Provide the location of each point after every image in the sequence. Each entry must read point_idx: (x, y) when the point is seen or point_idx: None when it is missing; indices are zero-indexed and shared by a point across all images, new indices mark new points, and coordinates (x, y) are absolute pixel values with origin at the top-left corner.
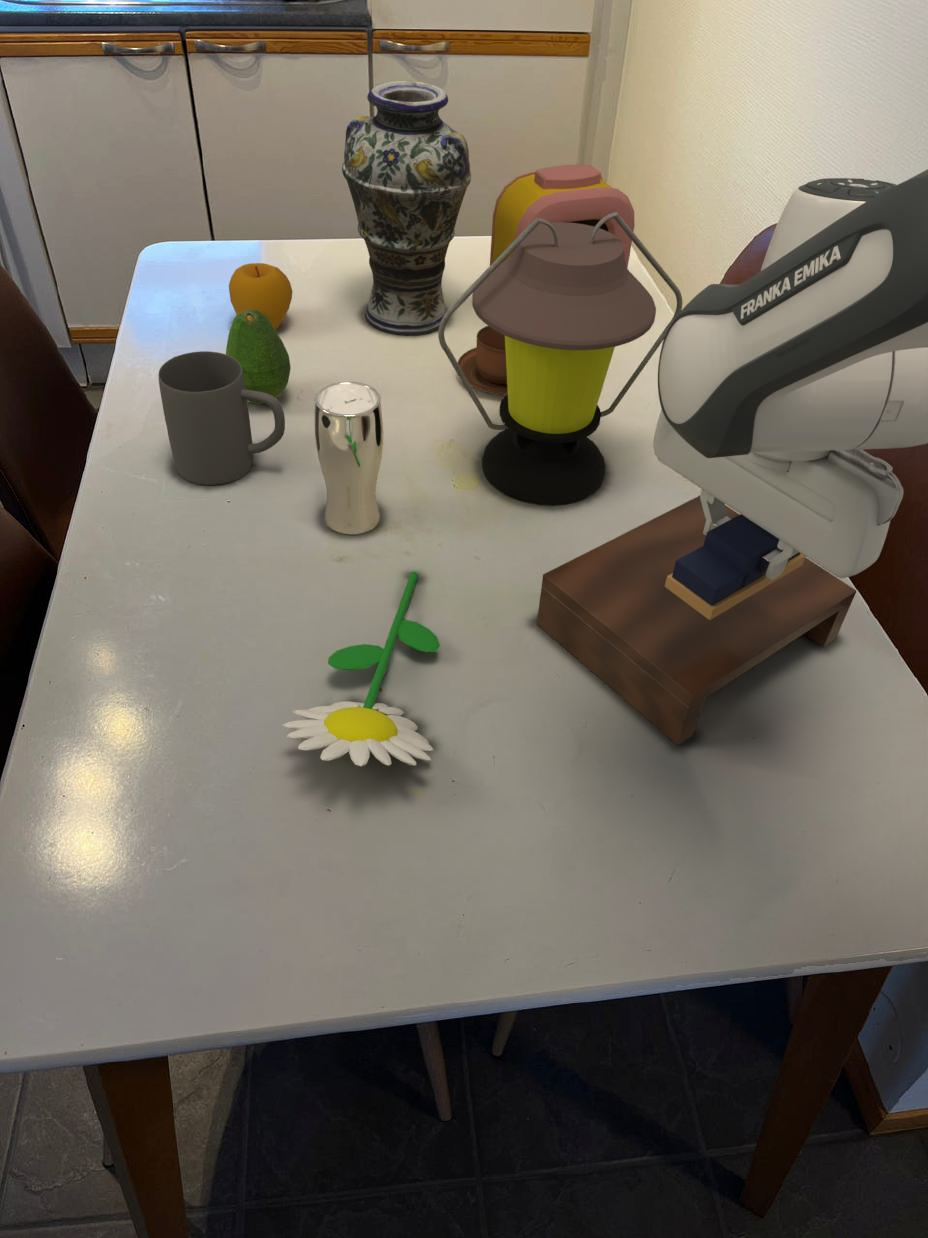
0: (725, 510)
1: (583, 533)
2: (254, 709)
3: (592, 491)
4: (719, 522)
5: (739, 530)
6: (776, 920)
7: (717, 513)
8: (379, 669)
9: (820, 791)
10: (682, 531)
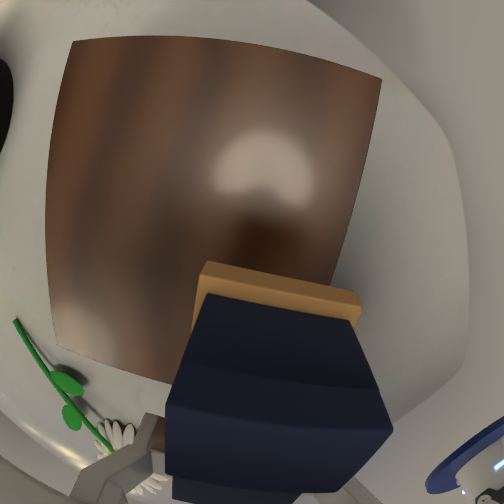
0: (140, 457)
1: (33, 159)
2: (79, 436)
3: (9, 104)
4: (160, 468)
5: (215, 486)
6: (392, 409)
7: (140, 471)
8: (87, 426)
9: (404, 316)
10: (86, 147)
